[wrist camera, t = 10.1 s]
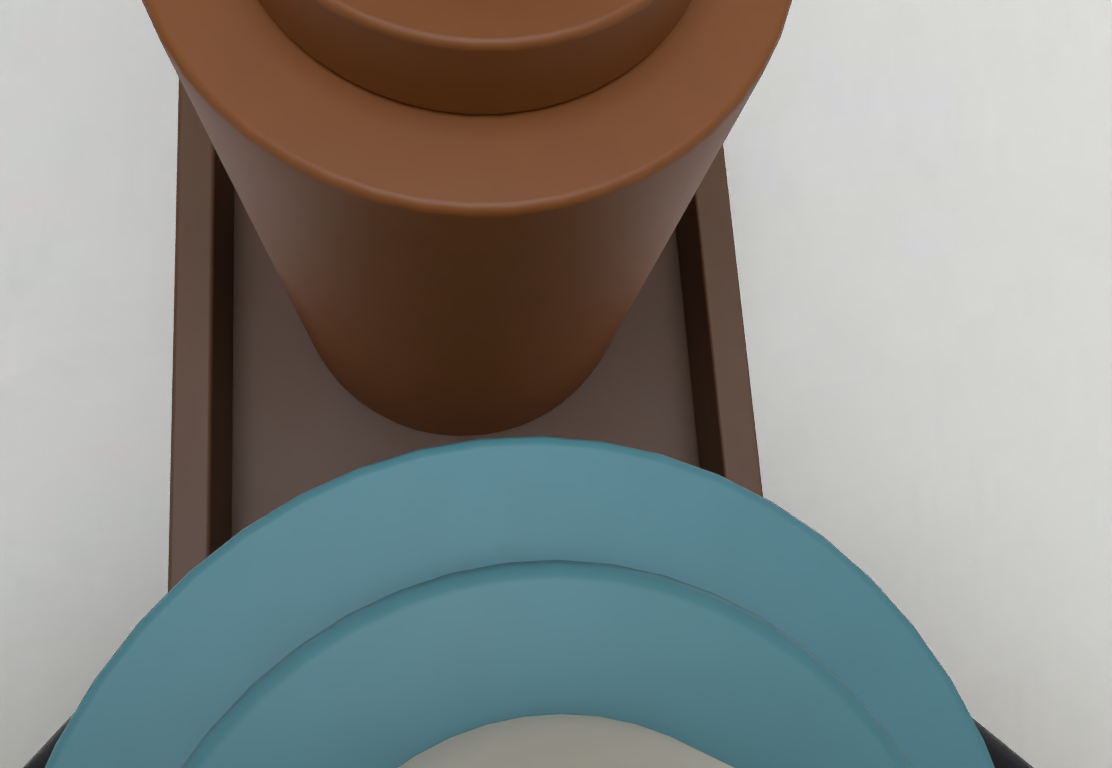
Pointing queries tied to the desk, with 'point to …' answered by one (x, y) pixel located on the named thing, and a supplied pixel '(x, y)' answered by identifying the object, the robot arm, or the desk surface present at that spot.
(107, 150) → the desk surface
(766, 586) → the teal bottle
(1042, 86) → the desk surface
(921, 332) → the desk surface
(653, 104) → the amber bottle
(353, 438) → the tray
